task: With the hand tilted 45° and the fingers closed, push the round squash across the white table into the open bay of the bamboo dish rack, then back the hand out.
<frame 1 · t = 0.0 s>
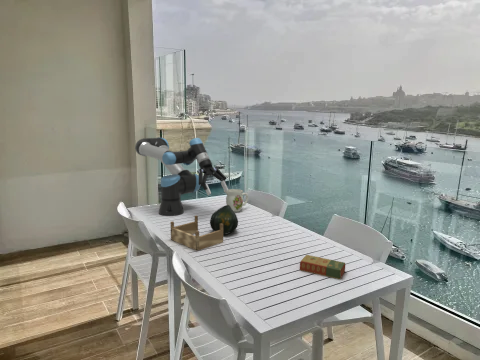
hand: (218, 192, 205), 15 cm above the table, tool tilted 35°, fingers open, 13 cm apart
pitcher: (235, 211, 224), on the table
rack: (196, 240, 170), on the table
carton: (322, 272, 138), on the table
squash: (223, 232, 183), on the table
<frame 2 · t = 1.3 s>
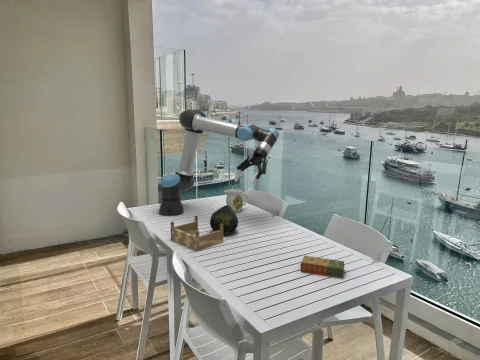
hand: (243, 181, 189), 25 cm above the table, tool tilted 45°, fingers open, 13 cm apart
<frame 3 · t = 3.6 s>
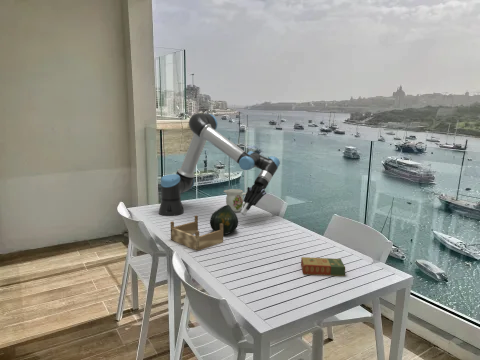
hand: (242, 213, 191), 7 cm above the table, tool tilted 45°, fingers closed
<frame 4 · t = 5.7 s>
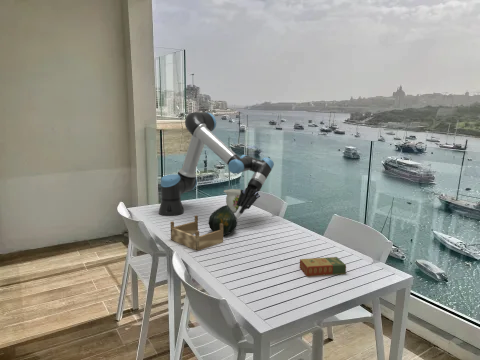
hand: (235, 217, 185), 7 cm above the table, tool tilted 45°, fingers closed
squash: (222, 232, 182), on the table, touching gripper
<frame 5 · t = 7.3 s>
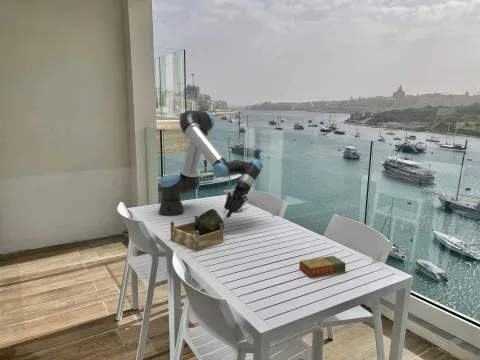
hand: (222, 221, 179), 7 cm above the table, tool tilted 45°, fingers closed
squash: (209, 237, 175), on the table, touching gripper
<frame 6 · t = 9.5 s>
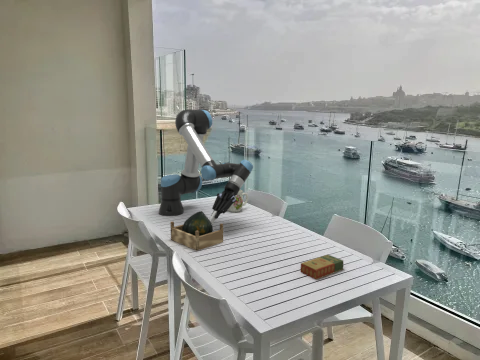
hand: (210, 223, 175), 7 cm above the table, tool tilted 45°, fingers closed
squash: (197, 240, 170), on the table, touching gripper
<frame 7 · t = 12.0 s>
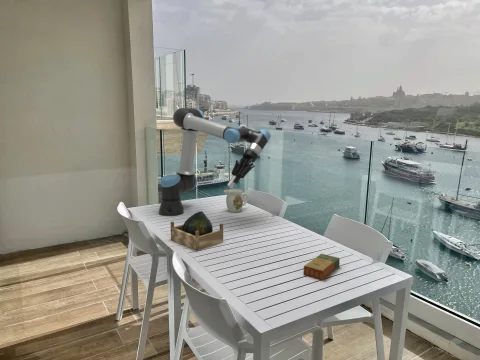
hand: (229, 186, 183), 23 cm above the table, tool tilted 45°, fingers closed
squash: (197, 240, 170), on the table
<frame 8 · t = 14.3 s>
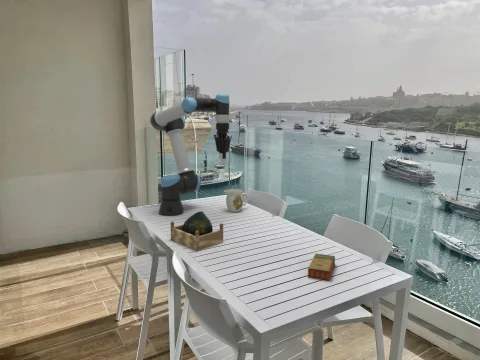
hand: (222, 164, 200), 32 cm above the table, tool pointing down, fingers closed
at the end: squash inside the target area (1.0 cm from its centre), on the table; squash touching table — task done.
